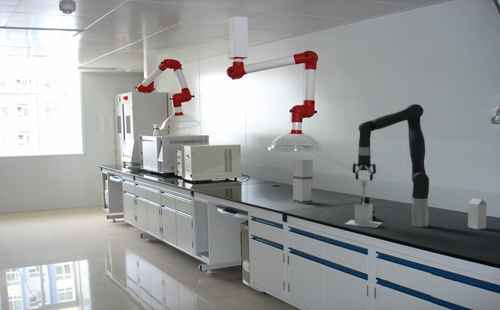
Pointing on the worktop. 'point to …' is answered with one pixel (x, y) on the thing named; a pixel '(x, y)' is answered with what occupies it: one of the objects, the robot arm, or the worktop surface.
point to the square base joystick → (363, 214)
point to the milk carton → (477, 213)
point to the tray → (373, 224)
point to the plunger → (363, 183)
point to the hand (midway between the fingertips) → (364, 180)
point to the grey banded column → (302, 180)
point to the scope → (368, 203)
